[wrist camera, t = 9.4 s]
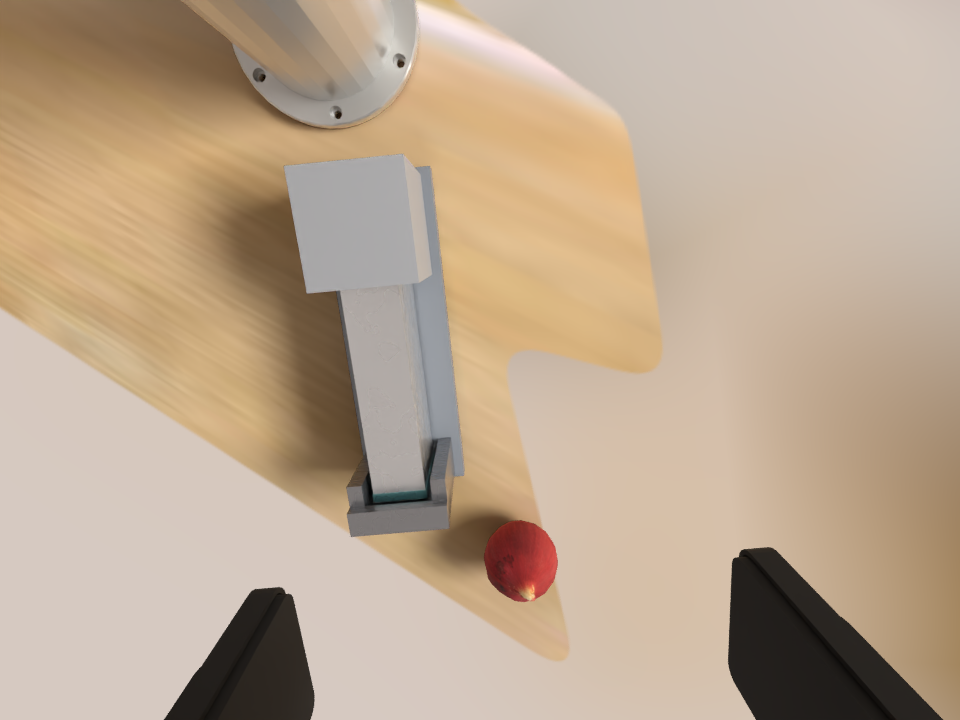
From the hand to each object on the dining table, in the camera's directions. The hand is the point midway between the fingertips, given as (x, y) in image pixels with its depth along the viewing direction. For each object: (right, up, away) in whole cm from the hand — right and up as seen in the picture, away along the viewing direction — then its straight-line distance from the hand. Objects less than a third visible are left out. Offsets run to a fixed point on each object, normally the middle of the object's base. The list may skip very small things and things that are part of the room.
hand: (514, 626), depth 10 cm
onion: (+3, -10, +32) cm, 33 cm away
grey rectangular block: (-7, +5, +26) cm, 28 cm away
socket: (-6, -2, +29) cm, 29 cm away
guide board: (-7, +8, +27) cm, 29 cm away
